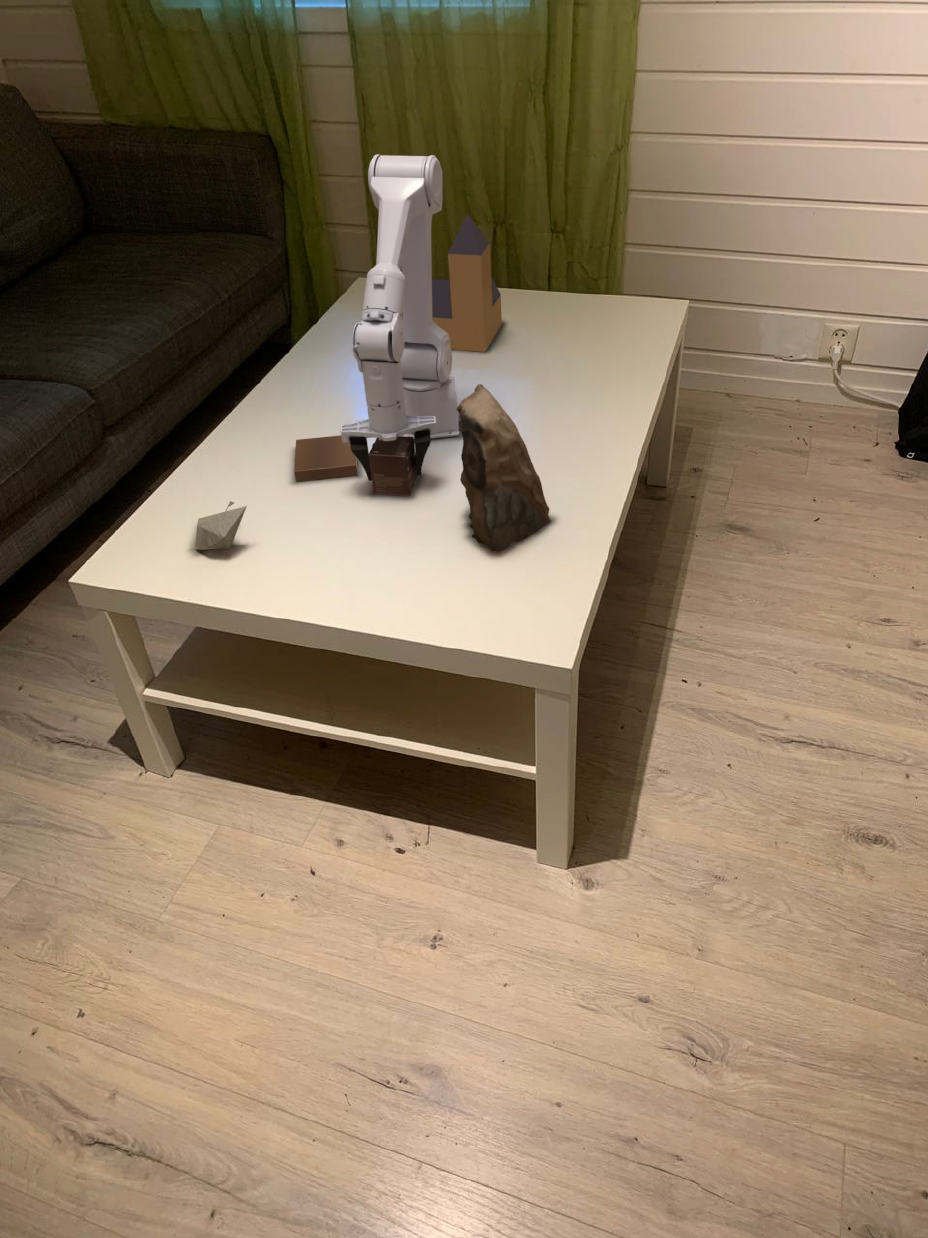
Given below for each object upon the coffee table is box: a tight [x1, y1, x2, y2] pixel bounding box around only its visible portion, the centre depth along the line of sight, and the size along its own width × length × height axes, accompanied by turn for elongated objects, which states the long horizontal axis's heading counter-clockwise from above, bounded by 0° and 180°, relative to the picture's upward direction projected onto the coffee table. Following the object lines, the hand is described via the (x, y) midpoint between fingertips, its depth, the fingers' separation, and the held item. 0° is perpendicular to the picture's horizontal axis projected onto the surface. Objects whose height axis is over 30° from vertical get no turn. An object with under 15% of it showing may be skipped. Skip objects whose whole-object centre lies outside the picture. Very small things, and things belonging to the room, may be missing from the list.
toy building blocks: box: [402, 213, 503, 353], centre depth 192 cm, size 12×19×25 cm
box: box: [368, 435, 419, 496], centre depth 158 cm, size 6×6×7 cm
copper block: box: [293, 434, 359, 483], centre depth 166 cm, size 10×10×2 cm
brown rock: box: [457, 383, 551, 553], centre depth 144 cm, size 13×13×20 cm
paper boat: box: [194, 500, 248, 550], centre depth 149 cm, size 12×6×9 cm
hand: (394, 475), depth 159 cm, fingers closed on box, 7 cm apart
